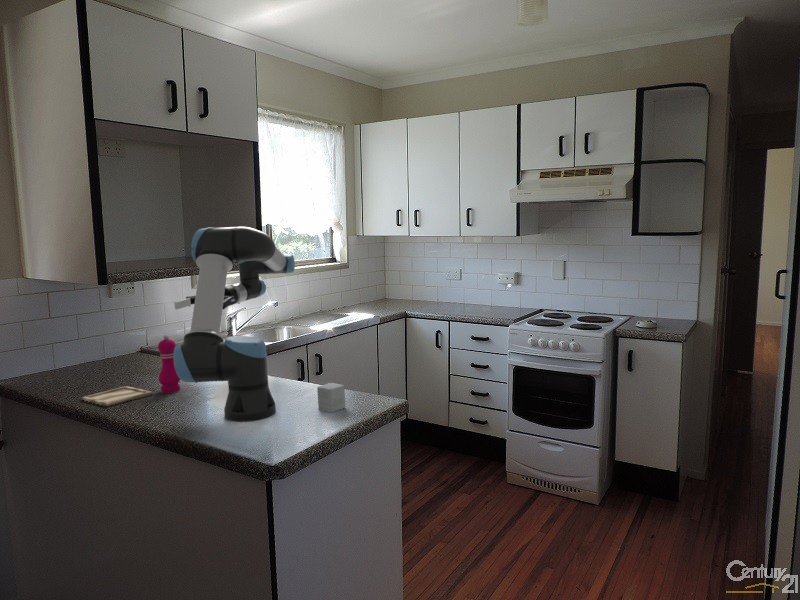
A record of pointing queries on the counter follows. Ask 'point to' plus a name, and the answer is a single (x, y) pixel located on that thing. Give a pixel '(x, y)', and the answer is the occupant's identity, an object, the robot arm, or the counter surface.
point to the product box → (331, 397)
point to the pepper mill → (168, 366)
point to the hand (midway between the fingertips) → (187, 307)
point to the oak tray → (117, 396)
